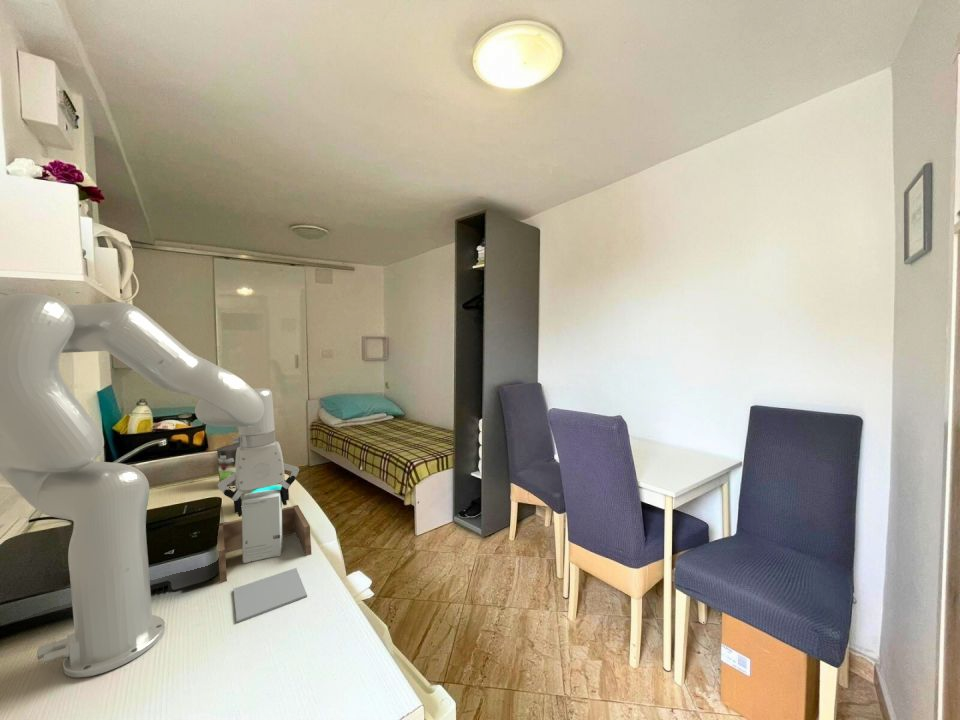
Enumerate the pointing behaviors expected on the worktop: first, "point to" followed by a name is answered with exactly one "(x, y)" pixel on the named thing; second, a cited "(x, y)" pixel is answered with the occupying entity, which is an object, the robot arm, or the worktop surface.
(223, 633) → the worktop surface
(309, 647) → the worktop surface
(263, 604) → the pad
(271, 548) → the skincare box
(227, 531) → the wooden open bay
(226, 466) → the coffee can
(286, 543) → the worktop surface
